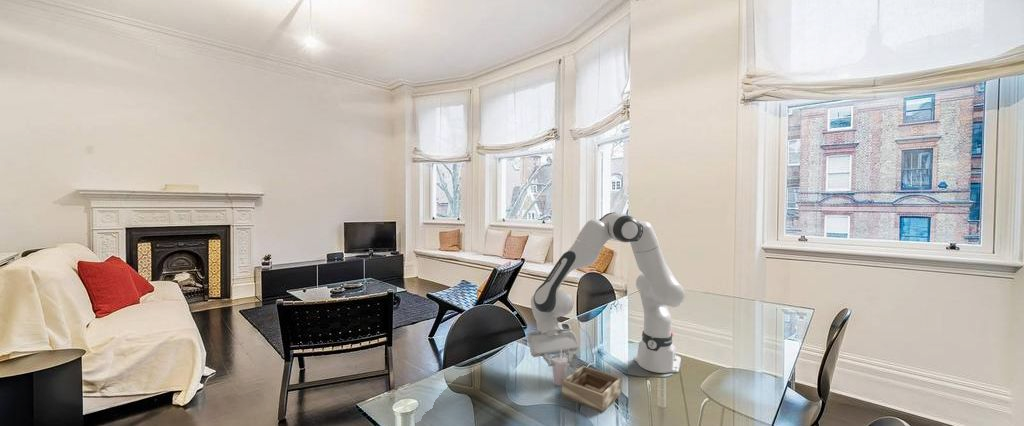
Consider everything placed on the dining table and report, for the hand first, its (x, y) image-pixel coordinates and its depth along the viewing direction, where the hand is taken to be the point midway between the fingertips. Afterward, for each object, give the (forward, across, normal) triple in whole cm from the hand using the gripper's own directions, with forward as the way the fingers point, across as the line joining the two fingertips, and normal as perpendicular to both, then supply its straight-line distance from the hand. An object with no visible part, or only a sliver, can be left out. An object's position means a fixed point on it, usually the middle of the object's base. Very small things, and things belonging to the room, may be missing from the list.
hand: (560, 364), depth 154 cm
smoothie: (+5, 0, +6) cm, 8 cm away
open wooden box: (+14, +7, -2) cm, 16 cm away
